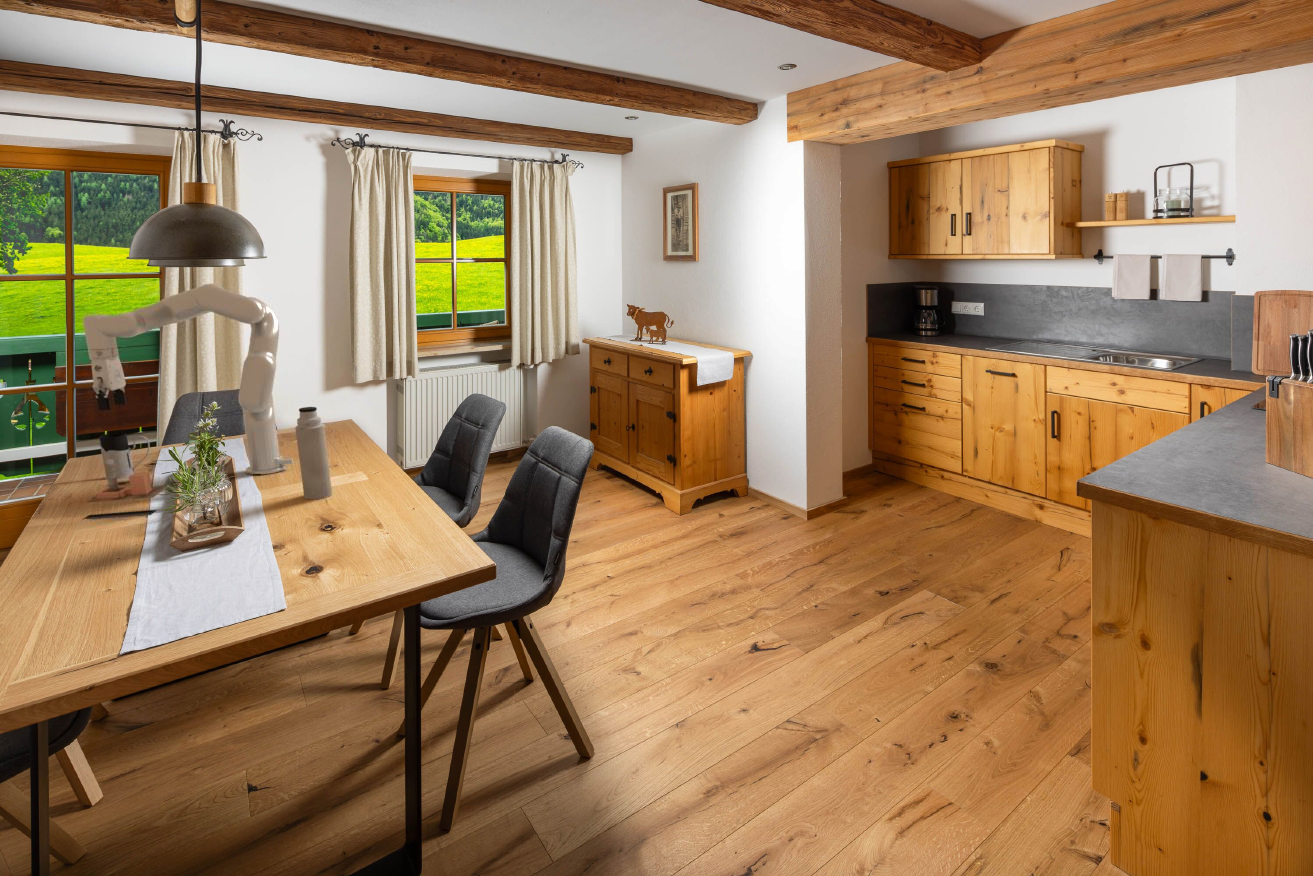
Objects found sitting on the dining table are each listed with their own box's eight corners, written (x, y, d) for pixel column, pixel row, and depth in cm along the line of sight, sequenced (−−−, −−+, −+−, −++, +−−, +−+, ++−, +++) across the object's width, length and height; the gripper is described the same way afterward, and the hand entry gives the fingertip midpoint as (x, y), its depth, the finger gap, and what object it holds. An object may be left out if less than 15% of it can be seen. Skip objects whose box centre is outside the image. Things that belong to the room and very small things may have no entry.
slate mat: (166, 502, 225) (166, 501, 225) (150, 515, 213) (150, 513, 213) (103, 507, 221) (103, 505, 221) (83, 520, 210) (82, 518, 209)
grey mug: (108, 476, 255) (100, 433, 251) (157, 471, 260) (149, 429, 257) (101, 482, 247) (93, 439, 243) (151, 477, 252) (144, 434, 249)
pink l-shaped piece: (154, 488, 234) (151, 470, 232) (144, 495, 227) (140, 476, 225) (106, 492, 231) (103, 473, 229) (95, 499, 224) (91, 480, 222)
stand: (170, 489, 238) (164, 452, 235) (154, 502, 225) (147, 462, 222) (107, 494, 234) (100, 456, 231) (86, 507, 221) (78, 467, 218)
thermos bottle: (310, 492, 234) (300, 405, 227) (336, 491, 234) (326, 405, 228) (299, 499, 226) (288, 410, 220) (326, 499, 226) (315, 409, 220)
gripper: (103, 356, 225) (112, 411, 229) (130, 350, 242) (138, 402, 246) (75, 357, 224) (85, 412, 228) (104, 351, 240) (113, 403, 244)
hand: (113, 407), depth 237 cm, fingers open, 9 cm apart
